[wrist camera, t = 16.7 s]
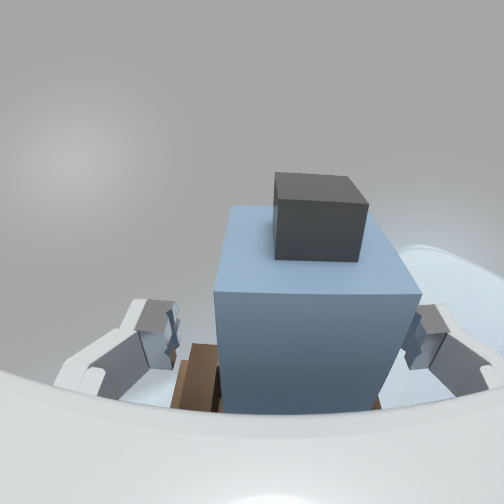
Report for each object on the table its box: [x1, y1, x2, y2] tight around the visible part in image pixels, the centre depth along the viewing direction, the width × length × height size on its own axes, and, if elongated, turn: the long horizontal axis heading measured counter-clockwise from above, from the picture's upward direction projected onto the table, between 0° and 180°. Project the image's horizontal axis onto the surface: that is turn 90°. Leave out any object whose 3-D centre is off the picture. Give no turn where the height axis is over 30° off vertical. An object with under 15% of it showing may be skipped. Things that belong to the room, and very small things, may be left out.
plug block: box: [214, 172, 422, 415], centre depth 11 cm, size 4×4×14 cm
